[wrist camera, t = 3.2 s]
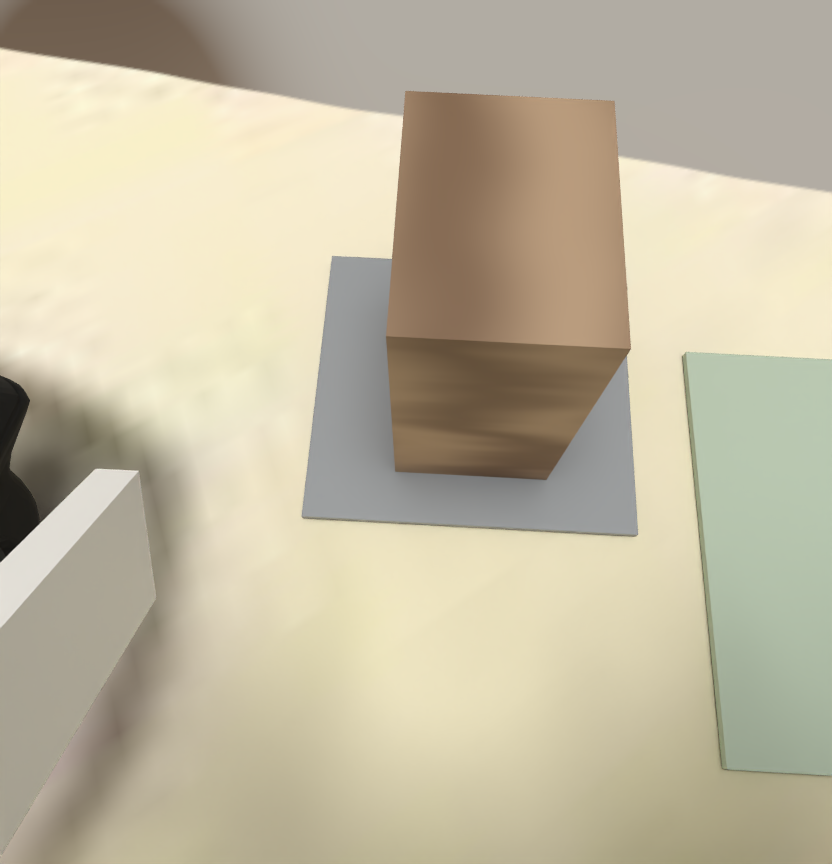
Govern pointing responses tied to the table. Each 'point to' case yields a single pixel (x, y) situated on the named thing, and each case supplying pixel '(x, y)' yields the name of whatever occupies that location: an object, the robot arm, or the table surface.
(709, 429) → the rubber mat
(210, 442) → the table surface
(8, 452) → the controller
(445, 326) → the walnut block
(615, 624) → the table surface
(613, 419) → the gray tile
